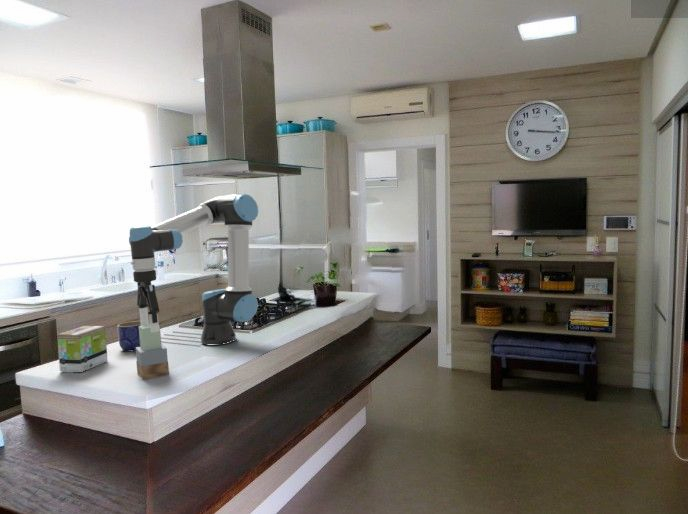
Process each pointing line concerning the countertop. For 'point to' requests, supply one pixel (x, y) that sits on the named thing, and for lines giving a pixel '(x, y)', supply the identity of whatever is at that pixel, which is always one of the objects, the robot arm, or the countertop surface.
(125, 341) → the planter
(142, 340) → the green block
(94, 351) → the tea box
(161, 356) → the tower top
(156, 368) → the tower base
